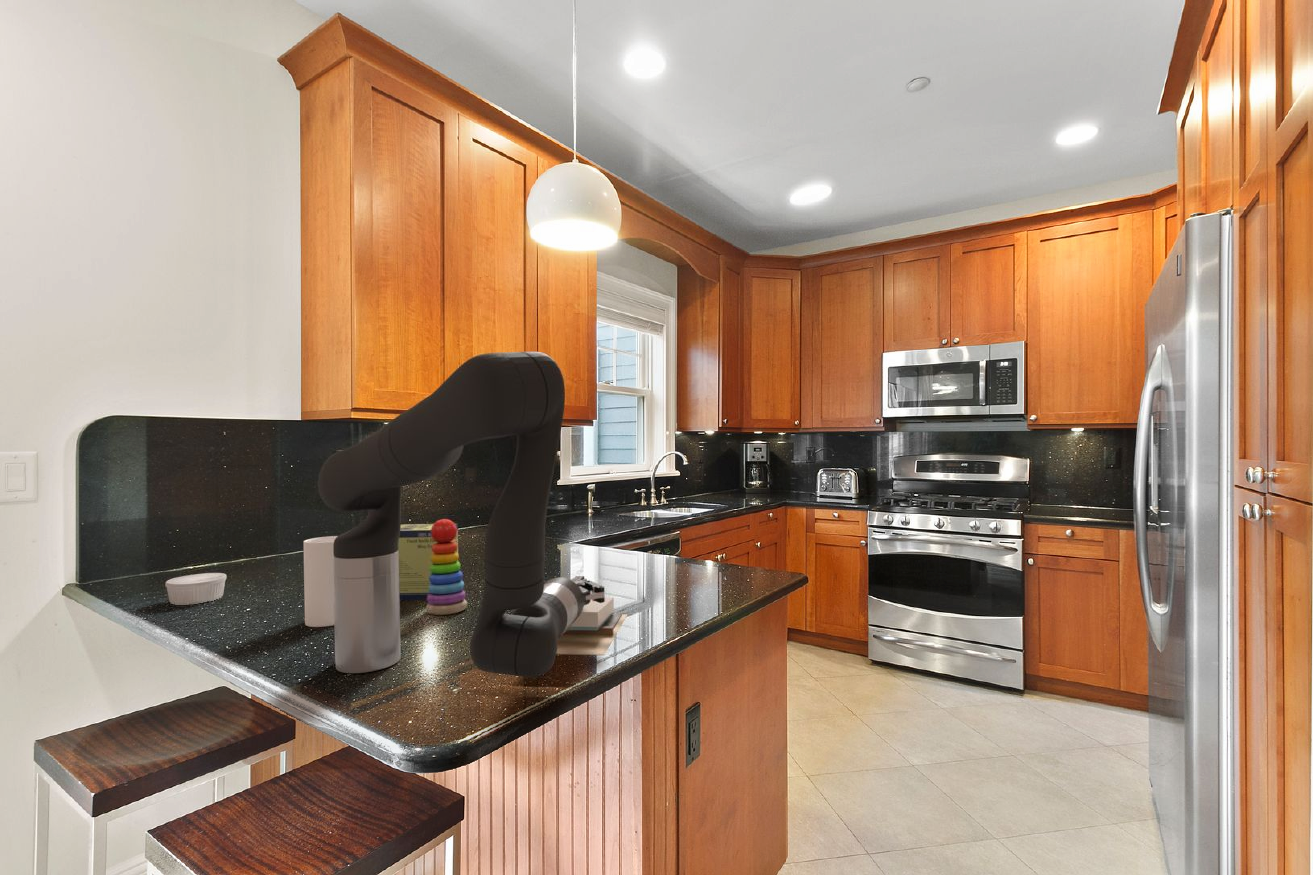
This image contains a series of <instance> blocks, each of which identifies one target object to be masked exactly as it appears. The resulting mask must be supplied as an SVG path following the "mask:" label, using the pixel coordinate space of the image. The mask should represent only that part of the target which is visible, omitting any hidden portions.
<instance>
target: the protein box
mask: <svg viewBox="0 0 1313 875" xmlns="http://www.w3.org/2000/svg"><path fill="white" fill-rule="evenodd" d="M433 524H434V523H426V524H425V523H419V524H417V523H413V524H412V523H411V524H410V523H409V524H401V530H400V536H399V542H398V557H399V598H400V601H403V600H404V601H405V600H406V601H407V600H408V601H410V600H427V596H428V594H429V593H430V592H429V590H428V587H429V585H430V584H431V582H430V580H429V576H430V575H431V574H432V572H431V571H430V566H431V564H433V563H432V562H431V560H430V558H431V556H432V555H433V554H435V553H434V552H433V551H432V546H433V545H434V544H435V543H438V542H436V541H435V540H434V539H433V538H432V535H431V528H432V526H433ZM454 524H455V525H456V528H457V534H456V536H455V538H454V539H453V540H452V541H450V542H455V543H456V544H457V546H458V547H457V550H456V551H455V552H457V553H458V554H459V529H458V528H459V527H458V525H459V524H458V522H457V523H456V522H454ZM457 561H458V562H459V559H458V560H457Z"/></svg>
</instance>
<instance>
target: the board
mask: <svg viewBox="0 0 1313 875" xmlns="http://www.w3.org/2000/svg"><path fill="white" fill-rule="evenodd" d="M627 616H628V613H626V614H625V613H624V614H623V613H617V612H616V613H615V612H614V613H613V612H612V615H611V616H610V617H609V618H608V619H607V621H606V622H605V623H604V624H603V625H602V626H601V627H600V628H599V629H598V630H567V631H566V632H565V633H563V634H562V635H561V636H560V637H559V638H558V639H557V653H556V655H573V656H575V655H580V656H583V655H584V656H605V655H606V653H607V651H608V649H609V647H610V646H611V644H612V643H613V641H614V640H615V638H616V635H617V633H618V632H619V630H620V629H621V627H622V625H623V624H624V622H625V619H626V618H627Z"/></svg>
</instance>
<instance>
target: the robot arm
mask: <svg viewBox="0 0 1313 875" xmlns="http://www.w3.org/2000/svg"><path fill="white" fill-rule="evenodd" d="M565 402H566V388H565V380H564V377H563V372H562V370H561V368H560V367H559V365H558V364H557V362H556V361H555V360H554V359H553V358H552V357H551V356H549V355H548V354H546V353H544V352H540V351H507V352H506V351H505V352H501V351H500V352H489V353H488V352H487V353H482V354H479V355H475V356H472V357H471V358H469V359H467V360H466V361H464V362H463V363H462V364H461V365H460V366H459V367H458V368H456V370H454V371H453V372H452V373H451V374H450V376H449V377H447V378H446V380H445V381H443V383H441V385H439V387H437V388H436V390H435V391H434V392H432V393H431V394H430V395H428V396H427V397H425V398H423V399H422V400H420V401H419V402H418V403H416V404H414V405H413V406H411V407H410V408H408V409H407V410H405V411H403V412H401V414H398V416H396V417H395V418H393V419H391V420H390V421H389V422H387V423H386V424H385V425H384V426H383V427H381V428H380V429H378V430H376V431H375V432H373V433H371V434H370V435H369V436H366V438H364V439H362V440H361V441H360V442H358V443H355V444H353V445H352V446H348V447H347V448H344V449H341V450H339V451H336V452H334V453H332V454H331V455H330V456H328V458H327V459H326V460H325V461H324V462H323V465H322V466H321V468H320V471H319V475H318V479H317V480H318V481H317V487H318V493H319V496H320V498H321V500H322V501H323V503H324V504H325V505H326V506H327V507H328V508H330V509H332V510H334V511H338V512H339V511H340V512H346V513H347V512H356V511H357V512H358V511H366V510H368V514H367V517H365V519H364V520H363V521H362V522H360V524H358V525H356V526H355V527H354V528H352V529H350V530H347V531H346V532H344V533H342V534H340V535H337V536H338V537H337V538H336V539H335V540H334V545H333V554H334V598H335V604H334V625H333V626H334V627H333V628H334V661H335V662H334V663H335V669H336V670H337V672H340V673H343V674H344V673H345V674H363V673H364V674H365V673H369V672H374V671H379V670H382V669H383V670H384V669H385V668H389V667H391V666H393V665H395V664H396V663H398V662H399V661H401V656H402V655H401V610H400V609H401V607H400V605H401V604H400V602H401V600H400V598H399V557H398V542H399V536H400V530H401V525H402V523H401V521H402V520H401V519H402V492H403V490H402V489H403V488H402V487H404V486H405V487H406V486H410V485H414V484H418V483H422V482H424V481H426V480H429V479H432V478H433V477H435V476H437V475H440V474H442V473H443V472H445V471H447V470H448V469H450V468H451V467H452V466H453V465H454V464H456V462H458V461H459V459H460V457H461V455H462V452H463V450H464V446H466V445H469V444H471V443H475V442H478V441H479V442H480V441H483V440H489V439H490V440H491V439H497V438H498V439H500V438H504V437H510V436H515V435H516V436H517V437H516V439H517V440H516V452H515V457H514V463H513V465H512V468H511V471H510V473H509V476H508V479H507V482H506V483H505V486H504V488H503V491H502V492H501V495H500V497H499V498H498V501H497V503H496V504H495V505H496V506H495V507H494V509H493V511H492V513H491V516H490V519H489V522H488V524H487V528H486V534H485V536H484V537H485V538H484V547H483V548H484V549H483V551H484V553H483V554H484V555H483V556H484V557H483V558H484V559H483V560H484V561H483V562H484V564H483V565H484V567H483V568H484V588H483V589H484V590H483V594H482V600H481V605H480V609H479V612H478V618H477V620H476V623H475V625H474V629H473V632H472V635H471V640H470V643H469V655H470V658H471V660H472V662H473V664H474V665H475V667H477V669H479V670H481V671H482V672H485V673H491V674H496V675H497V674H499V675H507V676H516V677H520V678H521V677H522V678H537V677H541V676H543V675H545V674H547V673H548V672H549V671H550V670H551V669H552V667H553V665H554V663H555V660H556V657H557V654H556V653H557V639H558V638H559V637H560V636H561V635H562V634H563V633H565V632H566V631H567V630H568V629H569V627H570V626H571V625H572V624H573V623H574V622H575V620H576V619H577V618H578V617H579V615H580V614H581V612H582V610H583V607H584V605H587V604H589V603H590V601H591V599H592V601H596V602H598V603H603V602H605V598H606V597H605V594H606V593H605V586H604V585H602V584H599V583H597V582H596V581H592V580H590V579H589V580H588V578H585V576H584V575H575V576H574V577H573V578H571V579H570V578H567V577H563V576H559V577H554V578H553V577H552V578H550V579H548V580H547V581H545V554H546V553H545V542H546V539H545V538H546V524H547V523H546V521H547V513H548V504H549V499H550V492H551V488H552V481H553V477H554V471H555V467H556V461H557V457H558V456H557V455H558V448H559V442H560V437H561V431H562V425H563V421H564V415H565V414H564V413H565V404H566V403H565ZM512 610H514V611H513V612H512V614H509V613H507V612H506V611H512Z"/></svg>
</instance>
